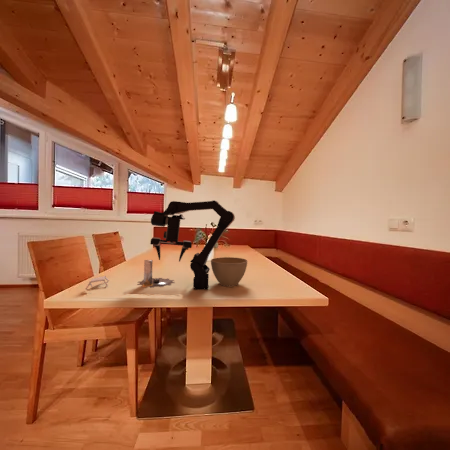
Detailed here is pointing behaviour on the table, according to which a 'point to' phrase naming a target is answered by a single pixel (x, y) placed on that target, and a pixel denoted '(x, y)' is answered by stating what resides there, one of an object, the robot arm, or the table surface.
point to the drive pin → (148, 272)
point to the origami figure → (97, 281)
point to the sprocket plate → (162, 283)
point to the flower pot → (228, 270)
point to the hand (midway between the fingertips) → (169, 260)
